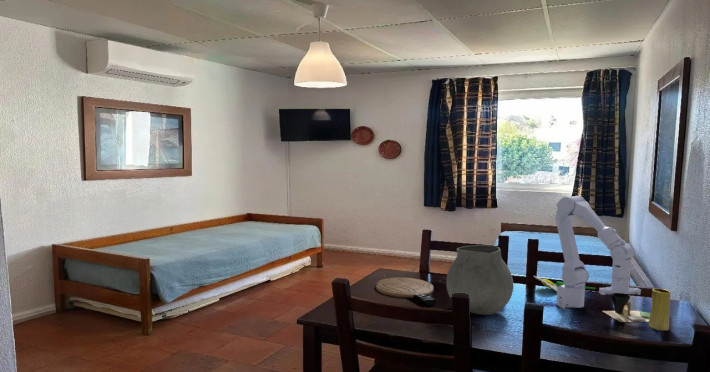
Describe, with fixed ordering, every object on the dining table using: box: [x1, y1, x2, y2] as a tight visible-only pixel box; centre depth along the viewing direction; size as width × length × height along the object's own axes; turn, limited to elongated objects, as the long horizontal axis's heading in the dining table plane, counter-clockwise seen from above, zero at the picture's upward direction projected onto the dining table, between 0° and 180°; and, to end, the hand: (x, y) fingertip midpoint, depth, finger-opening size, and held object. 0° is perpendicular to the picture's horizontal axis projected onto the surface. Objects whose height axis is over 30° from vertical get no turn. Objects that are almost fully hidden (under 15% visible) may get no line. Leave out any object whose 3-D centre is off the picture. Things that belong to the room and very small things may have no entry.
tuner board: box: [602, 310, 650, 323], centre depth 173 cm, size 16×11×2 cm
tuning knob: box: [622, 300, 632, 316], centre depth 173 cm, size 10×4×5 cm, turn 154°
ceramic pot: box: [446, 244, 514, 316], centre depth 177 cm, size 24×24×25 cm
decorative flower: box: [533, 275, 597, 293], centre depth 207 cm, size 13×5×30 cm
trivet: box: [375, 277, 434, 299], centre depth 205 cm, size 25×25×2 cm
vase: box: [648, 287, 671, 331], centre depth 162 cm, size 6×6×14 cm
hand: (618, 313), depth 171 cm, fingers closed
